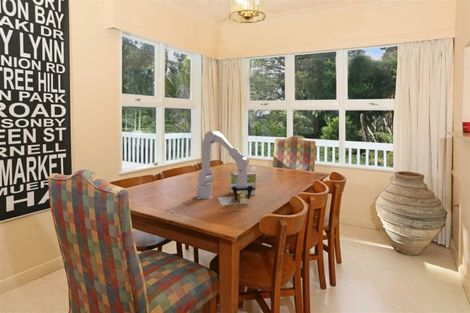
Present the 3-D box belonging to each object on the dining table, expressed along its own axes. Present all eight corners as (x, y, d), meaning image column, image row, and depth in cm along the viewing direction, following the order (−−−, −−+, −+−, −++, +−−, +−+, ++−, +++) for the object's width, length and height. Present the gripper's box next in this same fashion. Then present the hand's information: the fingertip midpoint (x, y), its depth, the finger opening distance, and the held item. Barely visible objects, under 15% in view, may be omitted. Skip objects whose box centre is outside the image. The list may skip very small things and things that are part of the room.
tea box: (234, 196, 208) (234, 174, 206) (230, 193, 218) (230, 172, 216) (255, 195, 212) (255, 173, 210) (250, 191, 222) (251, 171, 220)
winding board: (221, 205, 186) (221, 196, 185) (217, 198, 203) (217, 189, 203) (247, 204, 189) (247, 195, 188) (241, 197, 206) (241, 188, 205)
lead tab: (239, 201, 192) (239, 193, 192) (244, 201, 193) (244, 193, 192) (240, 203, 189) (240, 195, 189) (245, 203, 190) (245, 194, 189)
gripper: (231, 178, 184) (231, 201, 186) (255, 177, 187) (255, 200, 189) (229, 176, 191) (229, 198, 193) (252, 175, 194) (252, 197, 195)
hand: (242, 198), depth 191 cm, fingers open, 7 cm apart
